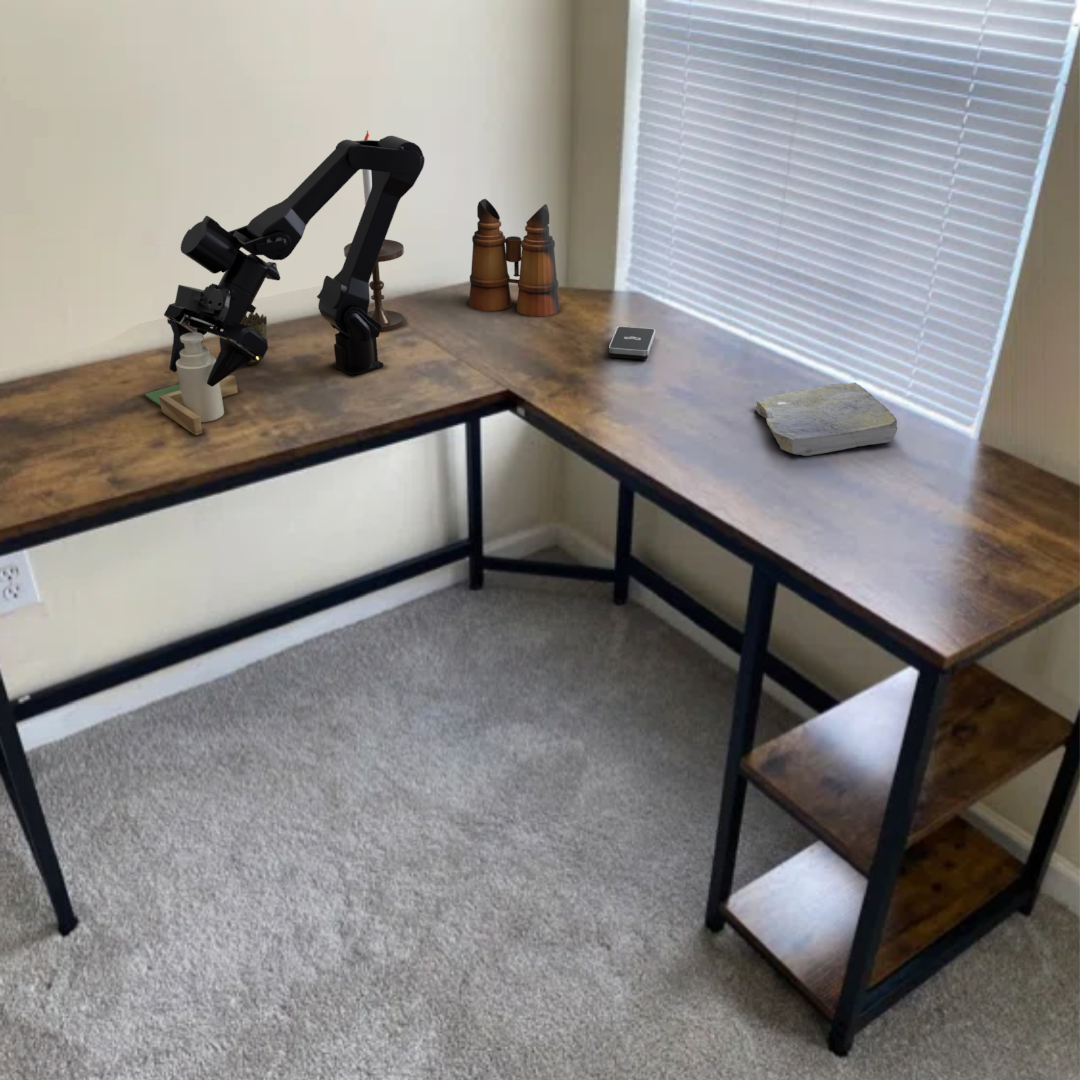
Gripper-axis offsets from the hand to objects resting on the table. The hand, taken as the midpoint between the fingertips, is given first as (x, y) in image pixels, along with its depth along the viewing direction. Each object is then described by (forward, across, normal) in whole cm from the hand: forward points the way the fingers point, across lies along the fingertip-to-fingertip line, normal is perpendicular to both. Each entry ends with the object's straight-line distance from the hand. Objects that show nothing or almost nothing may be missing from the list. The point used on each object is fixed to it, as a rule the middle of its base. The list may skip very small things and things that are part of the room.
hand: (190, 377), depth 173 cm
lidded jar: (+4, 0, +6) cm, 7 cm away
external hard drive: (-42, +38, +51) cm, 76 cm away
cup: (-9, -11, +19) cm, 23 cm away
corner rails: (+2, +1, +7) cm, 7 cm away
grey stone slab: (-35, +79, +45) cm, 97 cm away
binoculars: (-45, +7, +54) cm, 71 cm away
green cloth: (+1, -9, +8) cm, 12 cm away
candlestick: (-29, -7, +38) cm, 48 cm away
